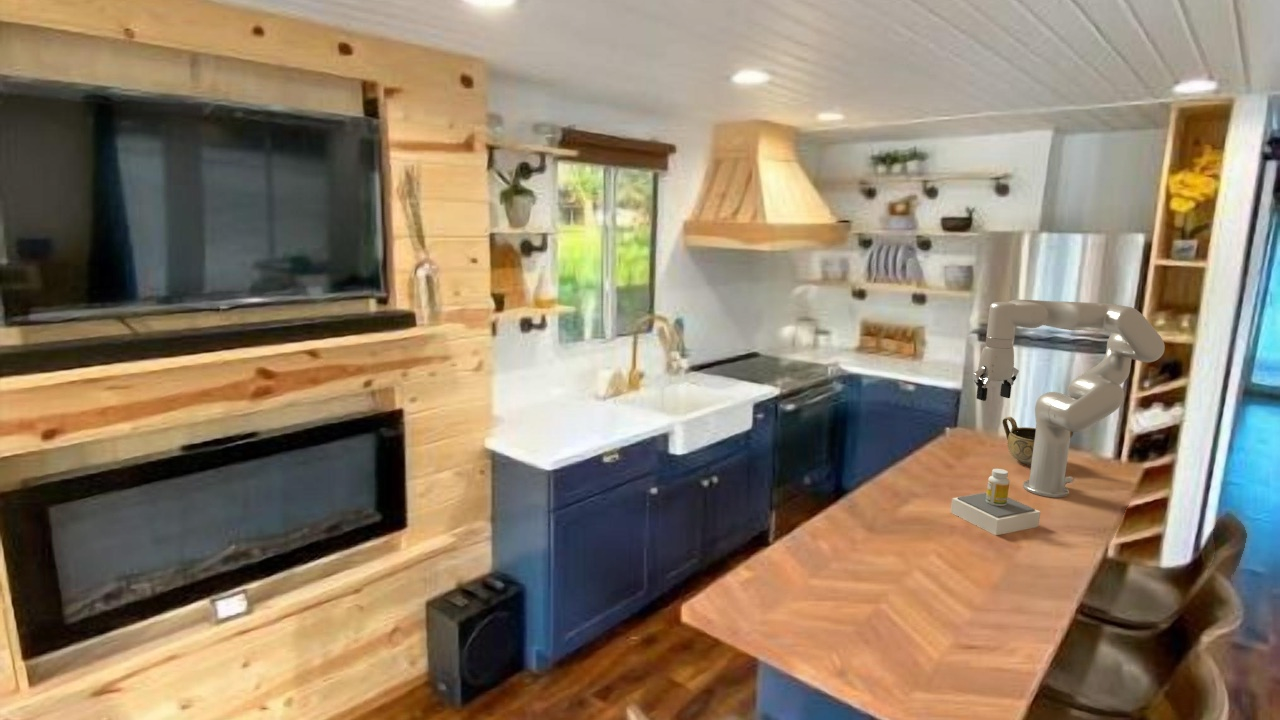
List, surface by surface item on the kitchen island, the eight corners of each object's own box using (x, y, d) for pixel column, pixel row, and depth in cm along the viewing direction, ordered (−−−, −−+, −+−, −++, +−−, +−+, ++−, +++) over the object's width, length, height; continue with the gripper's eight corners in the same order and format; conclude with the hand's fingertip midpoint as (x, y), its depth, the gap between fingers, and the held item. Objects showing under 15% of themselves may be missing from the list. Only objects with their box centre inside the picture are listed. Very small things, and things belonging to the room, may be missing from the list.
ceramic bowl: (1075, 466, 248) (1081, 425, 245) (1057, 477, 237) (1063, 434, 234) (1008, 450, 265) (1013, 411, 262) (988, 460, 254) (993, 419, 251)
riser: (991, 505, 214) (993, 489, 213) (1038, 526, 199) (1040, 509, 198) (950, 512, 208) (952, 496, 207) (995, 535, 194) (997, 518, 193)
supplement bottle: (982, 502, 203) (985, 470, 201) (991, 497, 207) (995, 466, 205) (1001, 508, 199) (1005, 475, 197) (1010, 503, 202) (1014, 471, 201)
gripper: (1010, 339, 221) (1003, 393, 225) (967, 342, 215) (962, 397, 218) (1031, 343, 215) (1024, 399, 218) (988, 347, 208) (981, 403, 212)
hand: (993, 398), depth 218 cm, fingers open, 9 cm apart
